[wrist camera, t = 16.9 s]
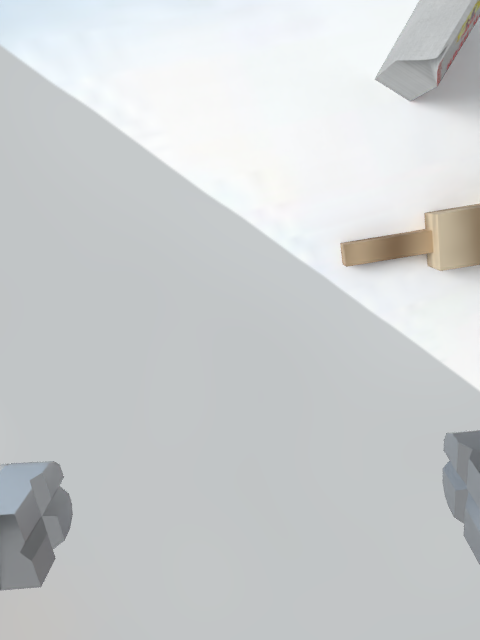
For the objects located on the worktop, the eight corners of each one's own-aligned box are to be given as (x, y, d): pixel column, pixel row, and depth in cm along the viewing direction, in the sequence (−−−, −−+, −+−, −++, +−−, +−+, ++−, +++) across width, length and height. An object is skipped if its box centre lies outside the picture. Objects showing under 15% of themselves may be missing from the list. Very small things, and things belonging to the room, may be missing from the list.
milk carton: (374, 79, 39) (415, 43, 30) (419, -1, 38) (478, -66, 28) (409, 101, 40) (461, 73, 30) (456, 24, 38) (526, -32, 29)
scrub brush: (344, 279, 44) (351, 285, 41) (338, 227, 43) (345, 230, 40) (501, 253, 43) (520, 258, 40) (501, 199, 42) (520, 200, 39)
